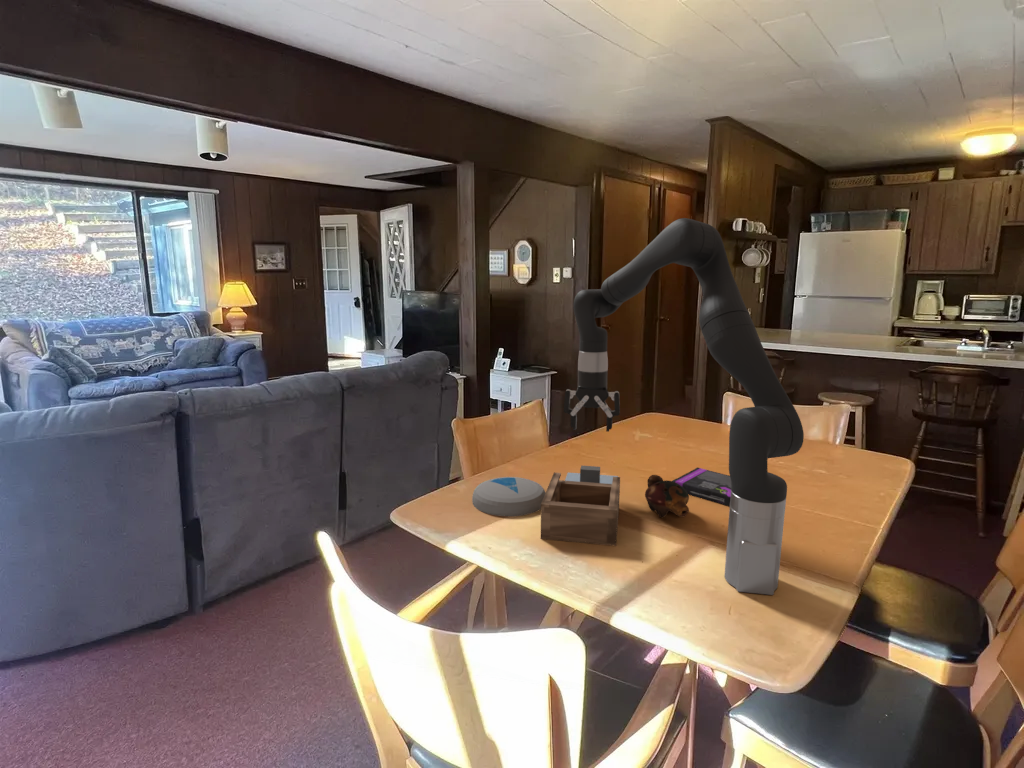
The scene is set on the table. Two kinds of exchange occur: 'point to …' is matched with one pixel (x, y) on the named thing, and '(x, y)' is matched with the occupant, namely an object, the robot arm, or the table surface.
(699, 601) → the table surface
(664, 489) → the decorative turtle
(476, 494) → the grey thick disc
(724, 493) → the box
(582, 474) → the lid
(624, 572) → the table surface
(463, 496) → the table surface
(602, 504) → the walnut box
